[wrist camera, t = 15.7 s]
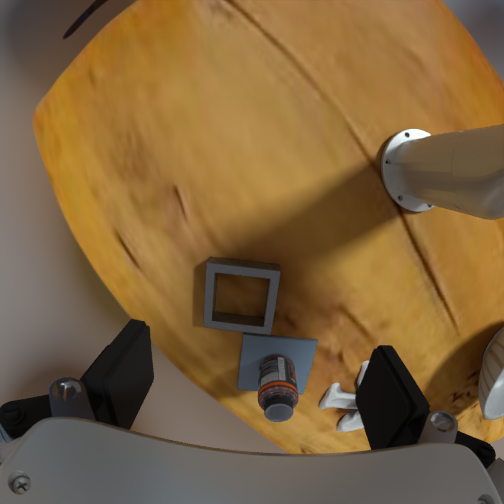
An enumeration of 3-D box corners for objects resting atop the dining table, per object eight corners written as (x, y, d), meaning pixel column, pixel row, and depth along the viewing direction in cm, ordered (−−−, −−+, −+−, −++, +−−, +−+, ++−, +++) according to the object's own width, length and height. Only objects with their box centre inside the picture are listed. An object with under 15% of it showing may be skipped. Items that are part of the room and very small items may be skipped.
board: (317, 339, 44) (317, 341, 44) (302, 392, 48) (303, 394, 47) (243, 332, 44) (243, 334, 44) (237, 386, 48) (237, 389, 47)
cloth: (347, 436, 52) (352, 456, 46) (298, 402, 49) (301, 425, 43) (429, 379, 48) (440, 397, 42) (393, 332, 44) (407, 351, 39)
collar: (279, 264, 41) (280, 271, 38) (270, 324, 44) (270, 334, 41) (210, 256, 41) (206, 262, 38) (207, 317, 44) (203, 326, 41)
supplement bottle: (297, 374, 46) (304, 422, 35) (264, 382, 46) (263, 430, 36) (289, 348, 44) (295, 395, 33) (254, 357, 45) (251, 404, 34)
